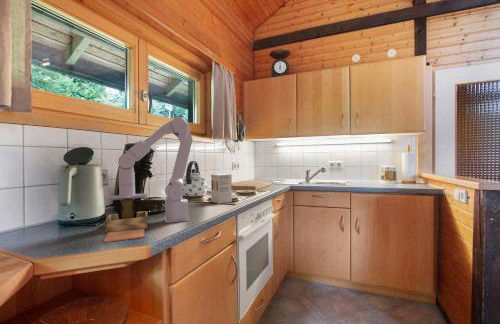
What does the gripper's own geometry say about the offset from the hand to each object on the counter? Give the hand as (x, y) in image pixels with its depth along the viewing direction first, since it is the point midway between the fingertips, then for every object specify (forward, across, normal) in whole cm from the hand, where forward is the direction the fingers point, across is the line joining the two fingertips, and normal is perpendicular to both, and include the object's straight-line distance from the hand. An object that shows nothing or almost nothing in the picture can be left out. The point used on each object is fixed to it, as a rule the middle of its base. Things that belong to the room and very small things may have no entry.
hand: (127, 217), depth 101 cm
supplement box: (+3, +49, +35) cm, 60 cm away
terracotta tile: (+3, 0, -14) cm, 14 cm away
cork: (+3, 0, 0) cm, 3 cm away
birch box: (+3, 0, 0) cm, 3 cm away
